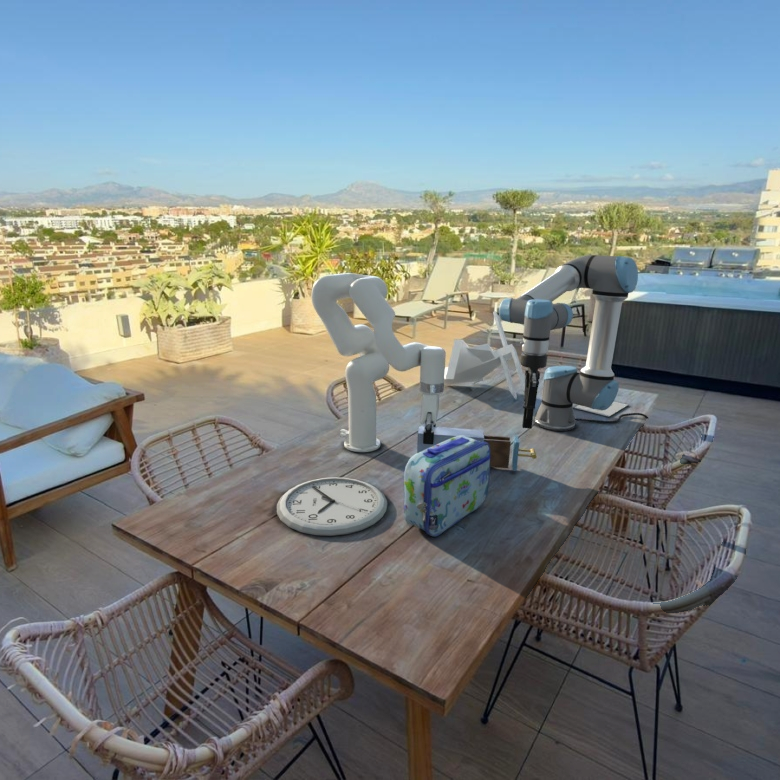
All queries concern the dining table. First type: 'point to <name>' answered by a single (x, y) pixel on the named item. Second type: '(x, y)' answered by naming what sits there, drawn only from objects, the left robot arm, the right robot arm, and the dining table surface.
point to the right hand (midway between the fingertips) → (526, 427)
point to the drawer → (505, 451)
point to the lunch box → (446, 483)
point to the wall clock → (331, 506)
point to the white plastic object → (482, 361)
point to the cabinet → (447, 436)
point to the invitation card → (608, 412)
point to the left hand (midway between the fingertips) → (429, 437)
